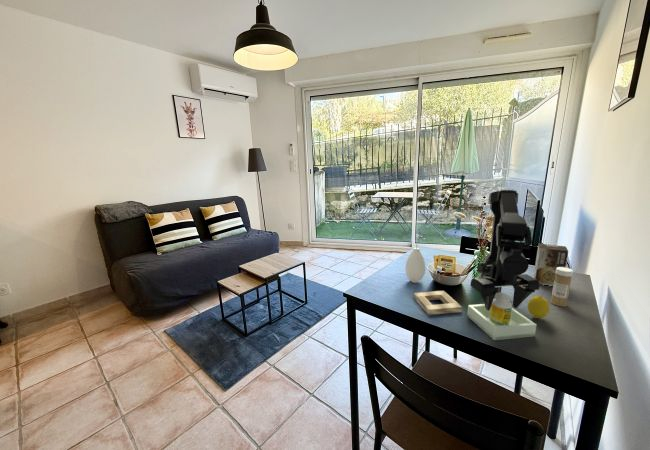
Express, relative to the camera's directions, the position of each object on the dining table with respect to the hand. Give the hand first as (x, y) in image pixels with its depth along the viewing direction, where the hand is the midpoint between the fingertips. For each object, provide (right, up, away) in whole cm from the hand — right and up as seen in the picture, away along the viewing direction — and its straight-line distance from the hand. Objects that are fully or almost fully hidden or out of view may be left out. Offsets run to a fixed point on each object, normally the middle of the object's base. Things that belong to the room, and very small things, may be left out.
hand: (501, 308), depth 87 cm
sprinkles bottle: (+29, -2, +13) cm, 32 cm away
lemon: (+15, -5, +5) cm, 16 cm away
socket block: (-14, -3, +15) cm, 21 cm away
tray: (0, -6, +1) cm, 6 cm away
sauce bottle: (-16, +1, +33) cm, 37 cm away
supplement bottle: (0, -5, +1) cm, 5 cm away
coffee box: (+37, +2, +29) cm, 47 cm away
